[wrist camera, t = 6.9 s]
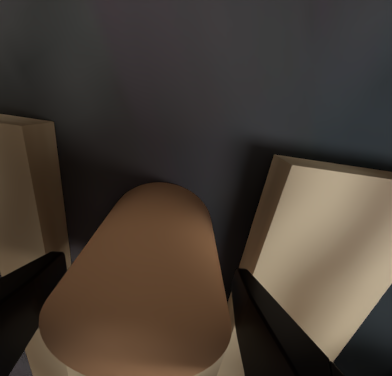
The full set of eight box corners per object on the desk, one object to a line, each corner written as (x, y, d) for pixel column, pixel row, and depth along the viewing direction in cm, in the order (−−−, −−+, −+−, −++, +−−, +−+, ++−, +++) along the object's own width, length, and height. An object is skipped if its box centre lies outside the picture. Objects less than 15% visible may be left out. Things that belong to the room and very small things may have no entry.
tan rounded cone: (202, 269, 11) (213, 388, 6) (111, 261, 11) (52, 383, 6) (220, 189, 9) (253, 276, 4) (109, 175, 9) (19, 256, 4)
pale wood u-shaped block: (417, 175, 9) (770, 286, 4) (296, 367, 15) (357, 515, 10) (-2, 113, 7) (-553, 141, 2) (53, 356, 14) (-40, 529, 8)
